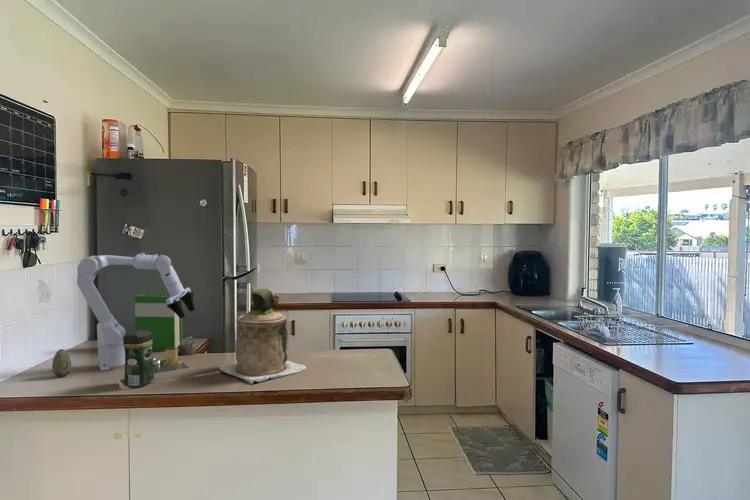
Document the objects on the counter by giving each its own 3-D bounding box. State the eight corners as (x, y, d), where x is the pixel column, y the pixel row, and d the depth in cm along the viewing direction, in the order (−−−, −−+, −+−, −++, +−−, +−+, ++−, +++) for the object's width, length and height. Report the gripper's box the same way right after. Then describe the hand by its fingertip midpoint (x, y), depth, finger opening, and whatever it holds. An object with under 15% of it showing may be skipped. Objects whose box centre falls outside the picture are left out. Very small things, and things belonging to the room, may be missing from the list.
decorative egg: (75, 374, 190) (74, 347, 189) (62, 379, 184) (61, 351, 183) (62, 373, 191) (61, 346, 191) (48, 378, 185) (47, 350, 185)
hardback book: (182, 347, 232) (181, 294, 231) (174, 351, 225) (173, 296, 224) (145, 346, 234) (144, 293, 233) (136, 350, 227) (134, 296, 226)
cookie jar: (253, 385, 177) (251, 293, 175) (215, 371, 193) (213, 287, 192) (308, 370, 195) (307, 286, 193) (269, 359, 212) (268, 281, 210)
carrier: (147, 377, 187) (146, 366, 186) (137, 366, 200) (137, 356, 200) (189, 370, 195) (189, 359, 195) (177, 360, 209) (177, 350, 209)
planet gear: (164, 367, 196) (164, 352, 195) (160, 363, 201) (159, 348, 201) (183, 364, 200) (183, 349, 200) (178, 360, 205) (178, 346, 205)
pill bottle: (102, 347, 232) (101, 314, 231) (120, 346, 233) (119, 314, 232) (94, 351, 224) (93, 317, 223) (113, 351, 225) (112, 317, 224)
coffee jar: (137, 379, 184) (136, 327, 183) (157, 380, 183) (156, 328, 182) (119, 387, 174) (118, 333, 173) (141, 388, 173) (139, 334, 172)
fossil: (170, 351, 221) (181, 330, 223) (190, 360, 224) (201, 339, 226) (170, 357, 211) (181, 334, 213) (191, 365, 214) (202, 343, 216)
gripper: (170, 286, 197) (186, 317, 199) (190, 275, 211) (204, 304, 213) (156, 291, 199) (171, 323, 201) (176, 280, 213) (190, 309, 215)
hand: (187, 314), depth 207 cm, fingers open, 7 cm apart
